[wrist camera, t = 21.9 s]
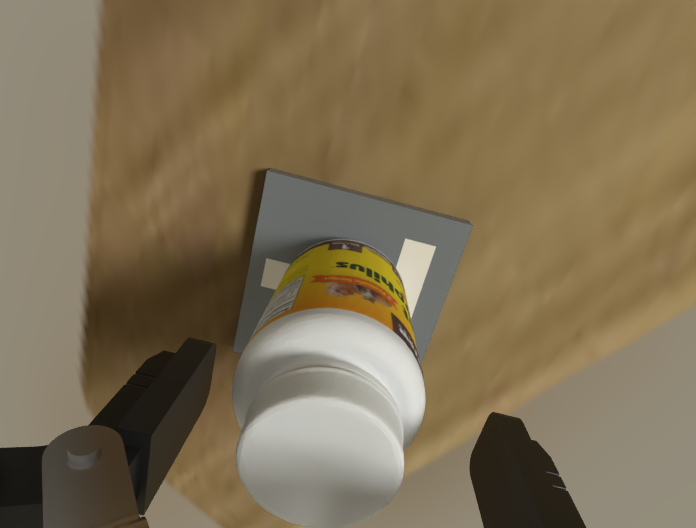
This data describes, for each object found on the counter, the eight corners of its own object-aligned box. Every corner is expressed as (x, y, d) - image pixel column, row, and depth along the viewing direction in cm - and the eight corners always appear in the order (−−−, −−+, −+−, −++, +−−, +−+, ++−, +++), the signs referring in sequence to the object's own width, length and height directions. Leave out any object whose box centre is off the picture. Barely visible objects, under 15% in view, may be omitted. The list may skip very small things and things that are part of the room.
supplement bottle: (429, 295, 19) (492, 478, 10) (342, 366, 21) (320, 586, 11) (344, 207, 18) (317, 316, 8) (257, 289, 20) (150, 462, 10)
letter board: (270, 168, 18) (266, 170, 18) (468, 221, 19) (472, 225, 18) (237, 343, 21) (232, 351, 21) (408, 385, 22) (409, 395, 21)
